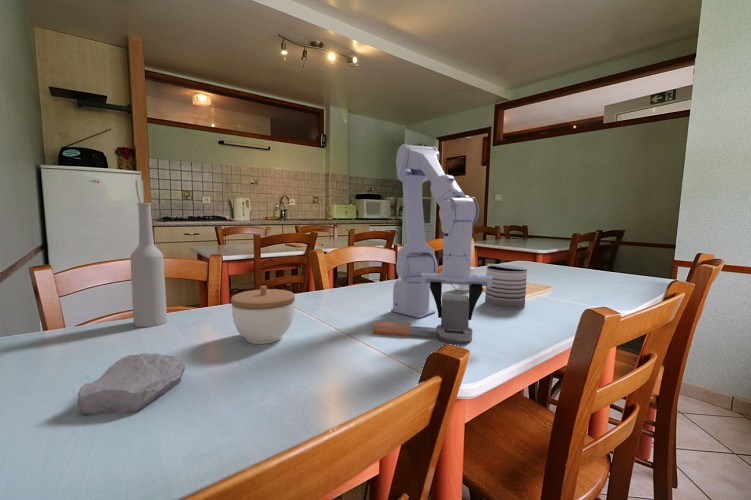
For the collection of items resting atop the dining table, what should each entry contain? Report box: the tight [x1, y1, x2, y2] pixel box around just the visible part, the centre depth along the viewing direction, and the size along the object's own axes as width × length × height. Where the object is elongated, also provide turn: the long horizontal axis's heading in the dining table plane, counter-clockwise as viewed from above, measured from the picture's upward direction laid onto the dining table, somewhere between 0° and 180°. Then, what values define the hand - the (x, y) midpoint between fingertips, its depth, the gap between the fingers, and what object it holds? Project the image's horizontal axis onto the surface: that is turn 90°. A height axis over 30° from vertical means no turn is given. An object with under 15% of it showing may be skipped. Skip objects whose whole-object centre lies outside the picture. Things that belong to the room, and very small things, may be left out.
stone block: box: [76, 352, 186, 416], centre depth 51 cm, size 12×5×10 cm
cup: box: [449, 265, 477, 292], centre depth 123 cm, size 7×10×8 cm
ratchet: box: [372, 320, 473, 345], centre depth 76 cm, size 21×8×4 cm, turn 78°
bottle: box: [129, 202, 168, 328], centre depth 81 cm, size 7×7×28 cm
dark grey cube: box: [440, 293, 470, 330], centre depth 75 cm, size 6×6×6 cm
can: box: [484, 263, 528, 310], centre depth 104 cm, size 11×11×12 cm
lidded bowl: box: [230, 285, 296, 345], centre depth 73 cm, size 13×13×11 cm
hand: (454, 317), depth 75 cm, fingers closed on dark grey cube, 5 cm apart
